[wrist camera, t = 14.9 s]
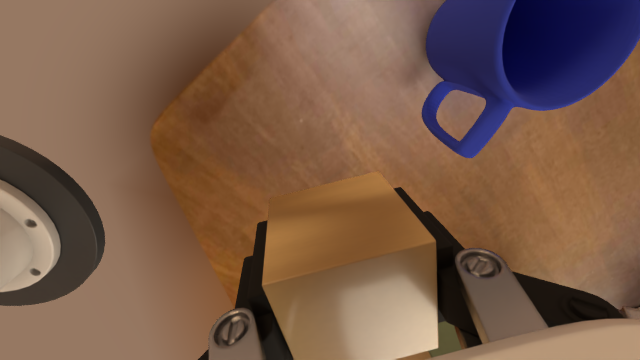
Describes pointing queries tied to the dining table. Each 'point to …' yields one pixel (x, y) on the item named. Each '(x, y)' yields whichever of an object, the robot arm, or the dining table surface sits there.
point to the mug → (524, 56)
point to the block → (351, 272)
